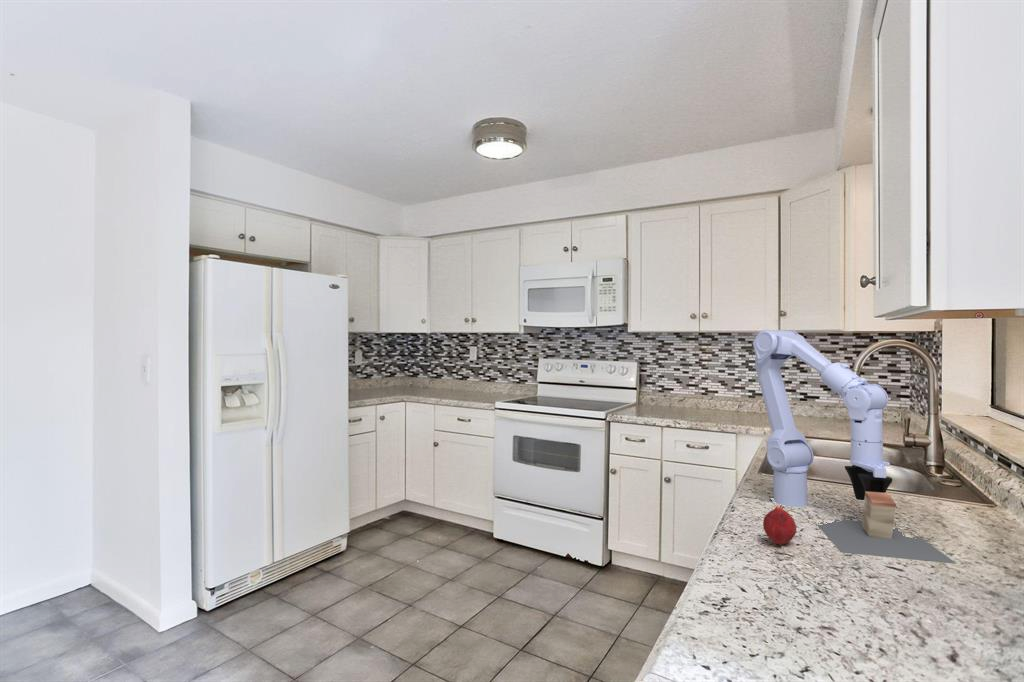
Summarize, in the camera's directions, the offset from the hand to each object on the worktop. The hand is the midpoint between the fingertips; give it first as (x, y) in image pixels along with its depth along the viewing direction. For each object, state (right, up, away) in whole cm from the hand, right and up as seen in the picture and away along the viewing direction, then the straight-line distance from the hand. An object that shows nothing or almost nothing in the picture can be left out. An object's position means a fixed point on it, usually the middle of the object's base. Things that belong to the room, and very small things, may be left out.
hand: (867, 504), depth 111 cm
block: (-1, -4, -5) cm, 6 cm away
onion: (-24, -5, -9) cm, 26 cm away
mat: (-3, -5, -6) cm, 9 cm away
